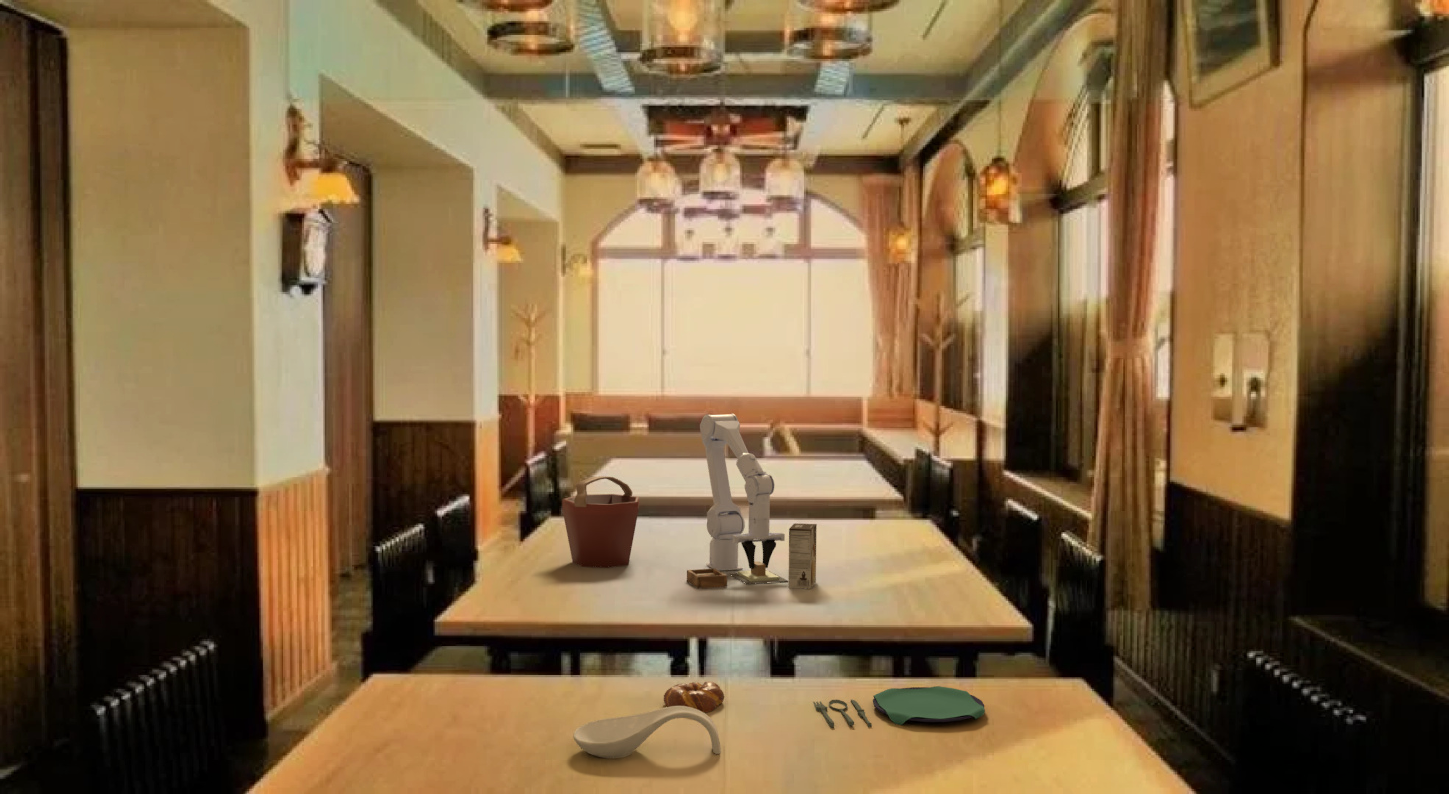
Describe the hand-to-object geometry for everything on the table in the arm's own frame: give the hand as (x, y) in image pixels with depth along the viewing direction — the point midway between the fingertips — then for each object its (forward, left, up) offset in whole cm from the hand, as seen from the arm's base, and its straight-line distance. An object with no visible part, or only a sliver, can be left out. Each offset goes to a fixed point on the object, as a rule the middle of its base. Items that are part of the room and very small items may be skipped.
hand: (758, 567), depth 336 cm
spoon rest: (+124, -67, -3) cm, 141 cm away
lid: (0, 0, -3) cm, 3 cm away
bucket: (-35, -36, -3) cm, 50 cm away
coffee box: (+12, +8, -3) cm, 15 cm away
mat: (0, 0, -3) cm, 3 cm away
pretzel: (+102, -52, -3) cm, 114 cm away
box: (+3, -16, -3) cm, 17 cm away
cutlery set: (+118, -18, -4) cm, 119 cm away
